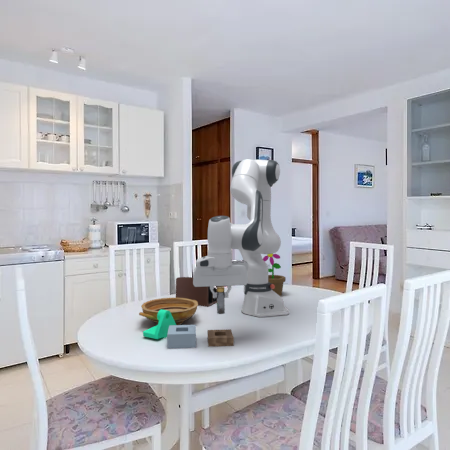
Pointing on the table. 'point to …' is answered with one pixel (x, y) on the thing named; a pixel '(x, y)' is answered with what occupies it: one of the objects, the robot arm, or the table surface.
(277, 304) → the robot arm
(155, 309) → the ceramic bowl
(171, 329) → the dock
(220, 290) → the lock pin
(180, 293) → the letter holder
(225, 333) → the pin mount
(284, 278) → the flowerpot
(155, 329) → the camera mount
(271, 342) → the table surface
